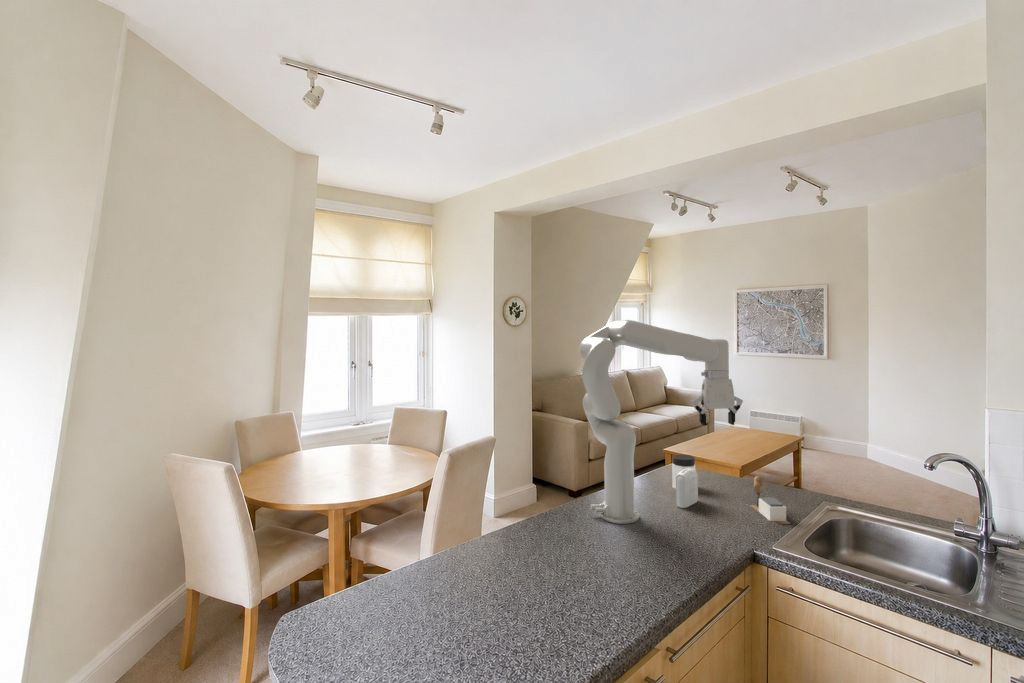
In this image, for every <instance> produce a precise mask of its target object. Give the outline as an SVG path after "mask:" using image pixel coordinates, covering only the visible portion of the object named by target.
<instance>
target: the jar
mask: <svg viewBox="0 0 1024 683" xmlns="http://www.w3.org/2000/svg"><path fill="white" fill-rule="evenodd" d="M671 459H672V464H671V467H672V468H671V471H672V473H671V476H672V489H675V490H676V476H677V475H678V473H679V472H681V471H682V470H684V469H687V468H691V469H694V470H696V457H695V456H693V455H690V454H682V453H681V454H674V455H672V458H671Z"/></svg>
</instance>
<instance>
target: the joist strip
mask: <svg viewBox="0 0 1024 683" xmlns="http://www.w3.org/2000/svg"><path fill="white" fill-rule="evenodd" d="M749 506H750V507H751V508H753V509H754V510H755V511H756V512H758V513H760V512H759V506H757V504H749ZM771 522H772V524H774V525H784V524H786V525H788V524H790V525H791V524H792V523H791V522H790V521H788V520H787V519H786V521H771Z"/></svg>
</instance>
